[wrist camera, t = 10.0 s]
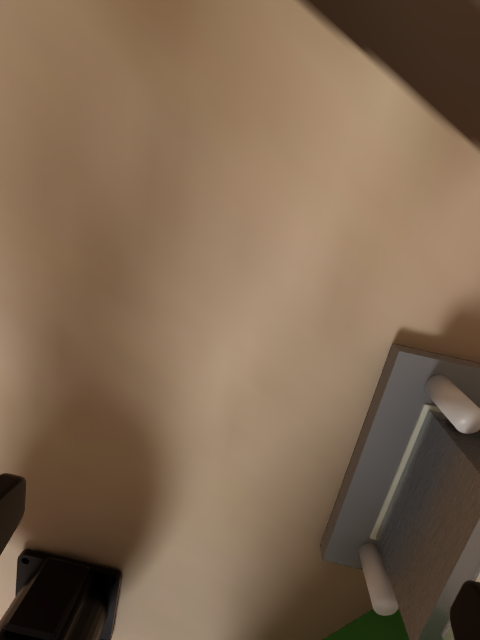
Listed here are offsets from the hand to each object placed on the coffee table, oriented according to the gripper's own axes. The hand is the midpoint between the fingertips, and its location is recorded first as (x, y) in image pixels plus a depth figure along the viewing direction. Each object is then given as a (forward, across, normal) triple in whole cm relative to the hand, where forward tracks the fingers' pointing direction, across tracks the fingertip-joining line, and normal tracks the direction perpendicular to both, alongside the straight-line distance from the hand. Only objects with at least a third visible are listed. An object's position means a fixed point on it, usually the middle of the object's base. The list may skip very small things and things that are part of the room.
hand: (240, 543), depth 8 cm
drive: (+11, -11, +5) cm, 16 cm away
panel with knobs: (+12, -11, +5) cm, 17 cm away
